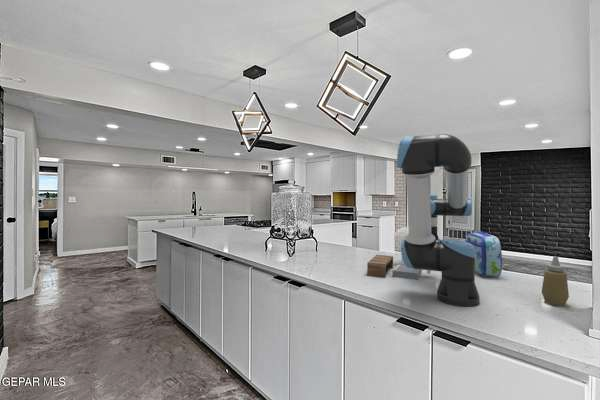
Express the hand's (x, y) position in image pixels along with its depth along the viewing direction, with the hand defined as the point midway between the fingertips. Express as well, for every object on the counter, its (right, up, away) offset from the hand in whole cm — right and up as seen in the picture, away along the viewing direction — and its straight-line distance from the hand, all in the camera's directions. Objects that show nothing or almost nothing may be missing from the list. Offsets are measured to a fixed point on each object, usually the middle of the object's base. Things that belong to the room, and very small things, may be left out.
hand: (428, 272), depth 157 cm
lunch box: (+31, -2, +8) cm, 32 cm away
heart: (+3, -1, +28) cm, 28 cm away
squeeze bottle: (+32, -3, -38) cm, 50 cm away
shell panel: (-9, -2, +4) cm, 10 cm away
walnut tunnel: (-21, -2, +10) cm, 24 cm away
